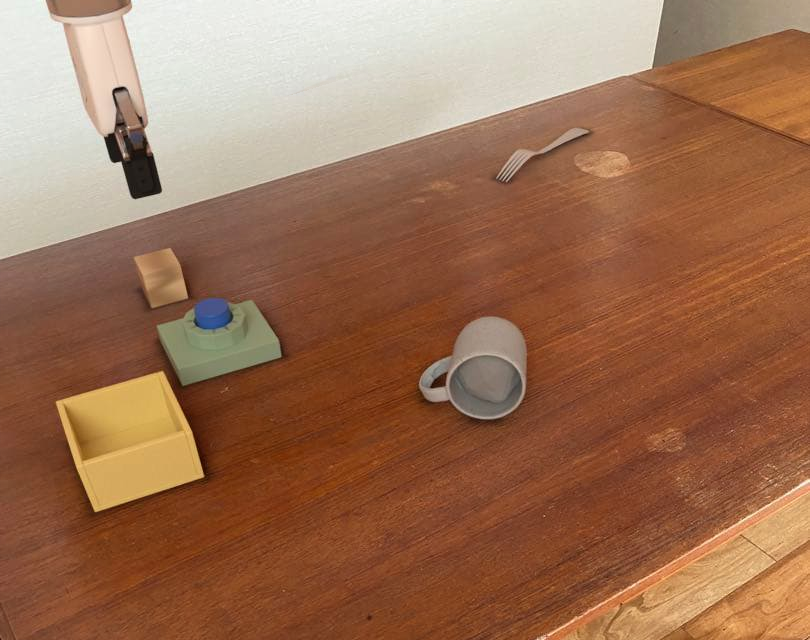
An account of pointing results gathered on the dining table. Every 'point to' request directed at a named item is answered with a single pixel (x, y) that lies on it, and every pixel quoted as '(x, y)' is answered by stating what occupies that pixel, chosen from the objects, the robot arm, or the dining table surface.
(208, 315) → the blue short cylinder
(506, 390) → the ceramic mug
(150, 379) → the bin
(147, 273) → the block
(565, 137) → the fork
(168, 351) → the green socket base
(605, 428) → the dining table surface
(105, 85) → the robot arm
